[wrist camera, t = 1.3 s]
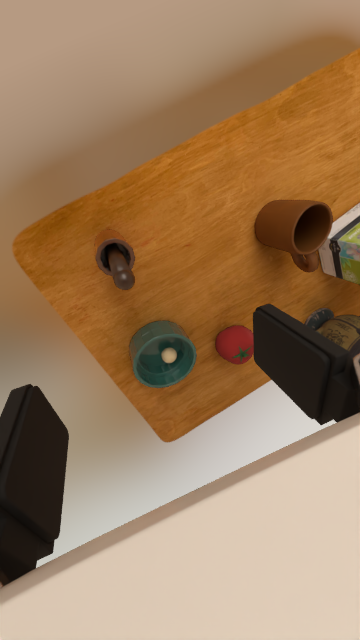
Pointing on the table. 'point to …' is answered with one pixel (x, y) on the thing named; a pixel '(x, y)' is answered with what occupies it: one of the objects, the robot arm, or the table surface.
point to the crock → (109, 238)
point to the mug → (295, 229)
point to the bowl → (149, 350)
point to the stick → (119, 267)
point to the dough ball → (169, 355)
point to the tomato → (235, 344)
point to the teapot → (337, 329)
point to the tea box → (343, 247)
